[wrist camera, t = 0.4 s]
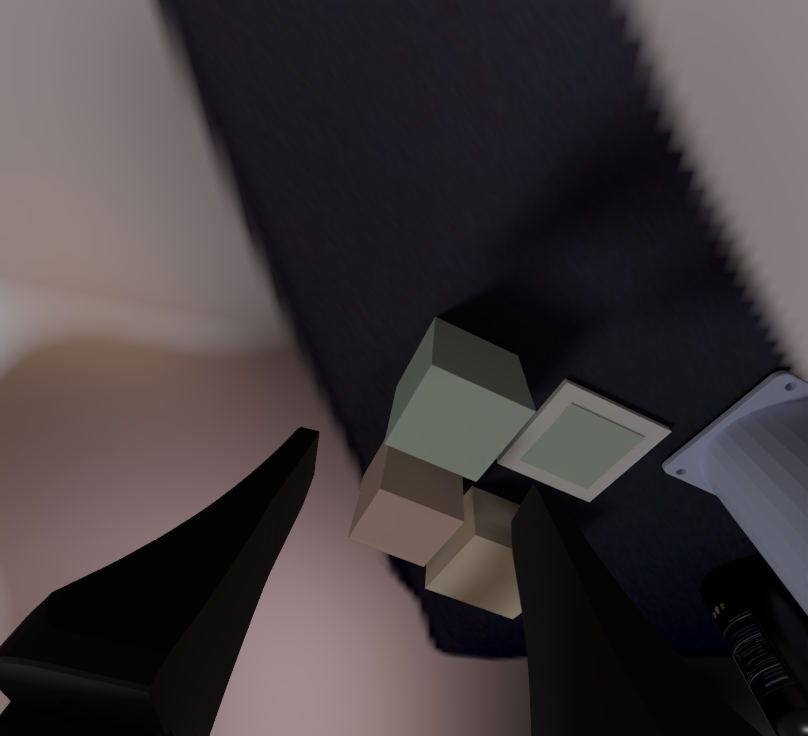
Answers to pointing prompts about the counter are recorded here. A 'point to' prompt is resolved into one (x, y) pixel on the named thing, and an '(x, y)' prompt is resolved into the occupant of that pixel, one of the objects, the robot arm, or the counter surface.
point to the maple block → (479, 557)
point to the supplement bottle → (764, 638)
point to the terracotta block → (407, 506)
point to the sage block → (459, 401)
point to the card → (581, 441)
